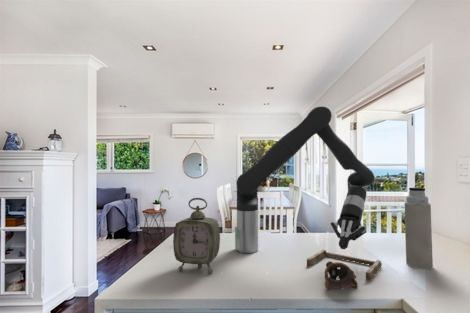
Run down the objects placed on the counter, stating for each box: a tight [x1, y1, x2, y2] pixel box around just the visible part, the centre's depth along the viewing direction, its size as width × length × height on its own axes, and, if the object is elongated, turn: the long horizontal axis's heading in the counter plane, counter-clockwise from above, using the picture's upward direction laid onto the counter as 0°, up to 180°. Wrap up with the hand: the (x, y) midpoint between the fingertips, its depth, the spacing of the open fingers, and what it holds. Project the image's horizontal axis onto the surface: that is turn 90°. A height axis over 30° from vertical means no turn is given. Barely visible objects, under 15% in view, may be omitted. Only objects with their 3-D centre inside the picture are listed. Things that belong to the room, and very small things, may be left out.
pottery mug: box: [324, 260, 359, 291], centre depth 81 cm, size 12×9×8 cm
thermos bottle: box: [403, 187, 434, 270], centre depth 99 cm, size 8×8×28 cm
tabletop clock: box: [172, 197, 221, 275], centre depth 95 cm, size 14×9×25 cm, turn 77°
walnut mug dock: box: [306, 249, 383, 282], centre depth 97 cm, size 16×21×2 cm
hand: (342, 247), depth 97 cm, fingers closed
